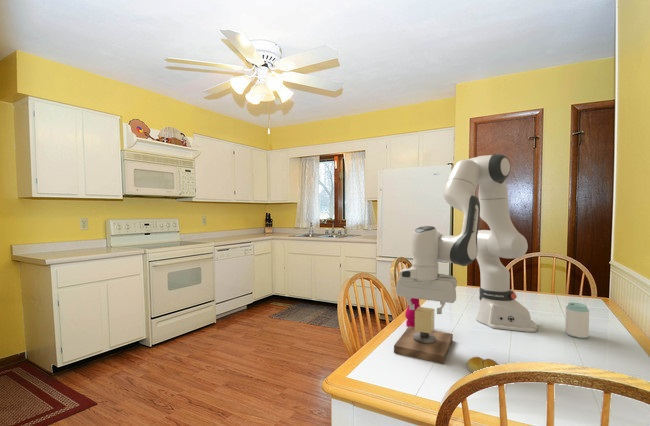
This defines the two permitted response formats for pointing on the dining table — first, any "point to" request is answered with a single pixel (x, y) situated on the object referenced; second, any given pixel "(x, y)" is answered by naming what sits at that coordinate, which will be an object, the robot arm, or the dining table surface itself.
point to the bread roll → (479, 363)
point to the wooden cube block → (424, 320)
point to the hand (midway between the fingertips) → (425, 311)
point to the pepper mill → (411, 313)
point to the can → (577, 320)
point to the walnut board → (424, 345)
